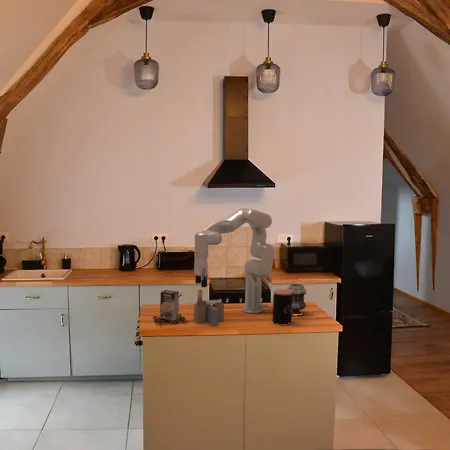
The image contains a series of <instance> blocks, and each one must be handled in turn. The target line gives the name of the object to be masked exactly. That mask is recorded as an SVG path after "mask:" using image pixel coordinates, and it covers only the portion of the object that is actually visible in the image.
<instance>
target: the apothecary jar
mask: <svg viewBox="0 0 450 450" xmlns="http://www.w3.org/2000/svg"><path fill="white" fill-rule="evenodd" d="M286 290H289V291H292V314H301V313H303V312H302V310H305V308H306V307H307V304H306V302H305V295H306V294H307V290H306V288H305V286H304V285H303V284H301V283H290V284H289V286H288V288H287V289H286Z"/></svg>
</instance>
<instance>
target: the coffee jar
mask: <svg viewBox="0 0 450 450" xmlns="http://www.w3.org/2000/svg"><path fill="white" fill-rule="evenodd" d="M272 300H273V301H272V320H271V321H272V323H273V322H274V324H275V323H278V324H288V323H290V324H291V322H292V317H293V316H292V291H289V290H287V289H274V290H273V299H272Z"/></svg>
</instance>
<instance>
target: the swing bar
mask: <svg viewBox="0 0 450 450" xmlns="http://www.w3.org/2000/svg"><path fill="white" fill-rule="evenodd" d="M197 301H203V289H197ZM205 301H206V304H211V305H213V304H221V303H223V301H222V299H212V300H210V299H207V300H206V299H205Z"/></svg>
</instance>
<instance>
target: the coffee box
mask: <svg viewBox="0 0 450 450" xmlns="http://www.w3.org/2000/svg"><path fill="white" fill-rule="evenodd" d="M159 303H160V305H159V309H160V310H159V319H160V318H164V319H171V320H175V319H176V318H177V317H178V318H179V305H180V304H179V303H180V291H176V290H169V289H164V290H162V291H160V302H159Z"/></svg>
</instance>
